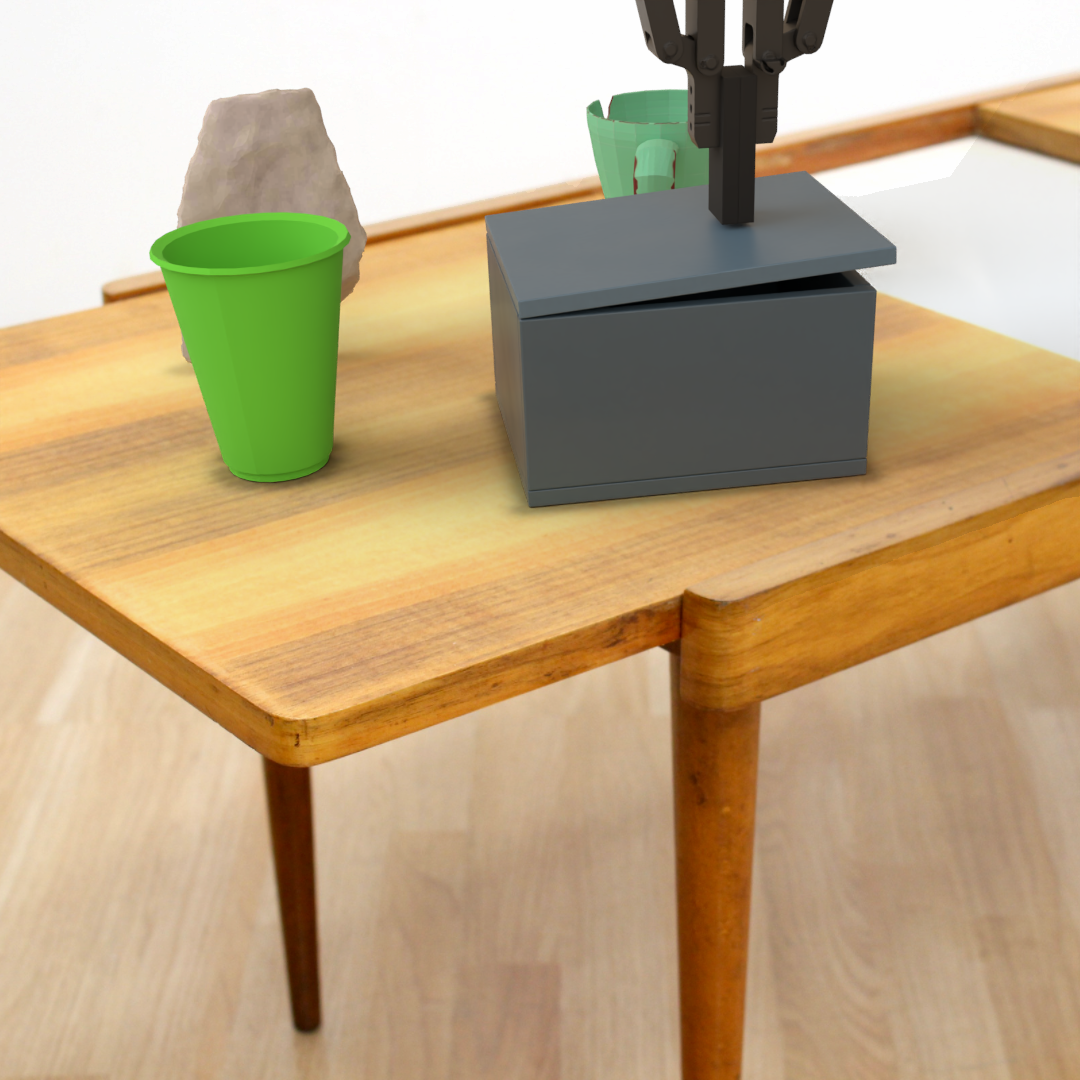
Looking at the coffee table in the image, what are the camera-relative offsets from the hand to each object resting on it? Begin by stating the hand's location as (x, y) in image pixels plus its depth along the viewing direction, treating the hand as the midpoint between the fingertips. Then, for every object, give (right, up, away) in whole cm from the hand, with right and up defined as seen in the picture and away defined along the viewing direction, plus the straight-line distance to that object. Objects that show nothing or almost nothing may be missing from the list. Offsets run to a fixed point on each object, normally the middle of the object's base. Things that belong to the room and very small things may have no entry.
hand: (730, 215), depth 72 cm
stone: (-23, -5, +16) cm, 29 cm away
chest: (-3, -10, +5) cm, 11 cm away
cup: (-21, -11, +4) cm, 25 cm away
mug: (-1, +2, +27) cm, 27 cm away
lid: (-2, -1, 0) cm, 3 cm away
